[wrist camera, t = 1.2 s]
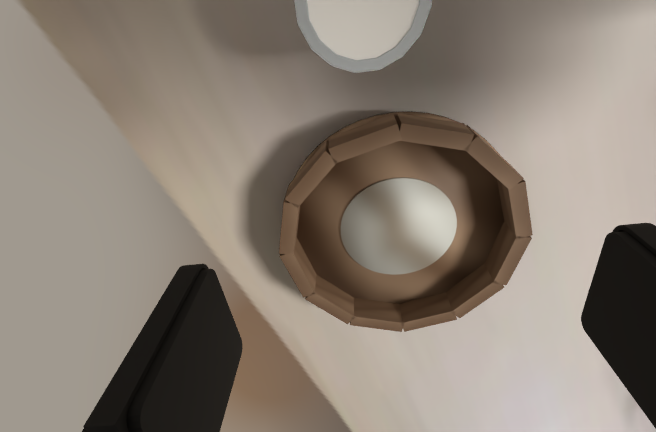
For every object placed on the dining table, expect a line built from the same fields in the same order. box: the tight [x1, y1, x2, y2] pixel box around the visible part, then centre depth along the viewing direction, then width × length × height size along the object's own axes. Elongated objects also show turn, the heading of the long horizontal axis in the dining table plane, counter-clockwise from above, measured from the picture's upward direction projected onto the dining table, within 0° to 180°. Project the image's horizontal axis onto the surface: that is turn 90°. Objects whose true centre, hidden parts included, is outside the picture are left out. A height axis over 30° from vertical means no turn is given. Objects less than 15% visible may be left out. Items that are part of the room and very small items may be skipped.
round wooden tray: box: [279, 112, 532, 332], centre depth 31 cm, size 20×20×4 cm
